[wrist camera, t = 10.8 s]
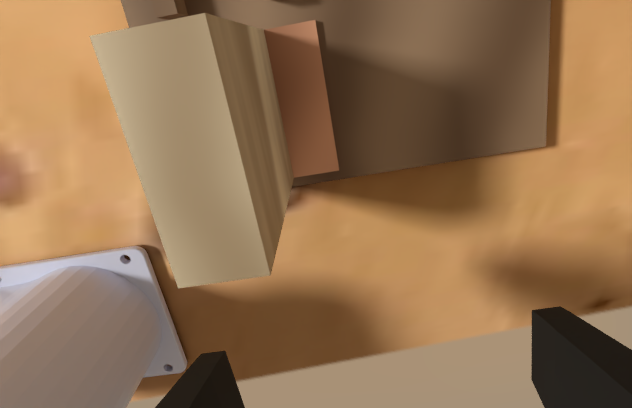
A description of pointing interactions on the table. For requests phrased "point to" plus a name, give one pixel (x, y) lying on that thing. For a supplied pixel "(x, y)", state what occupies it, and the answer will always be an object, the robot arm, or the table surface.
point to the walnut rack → (393, 77)
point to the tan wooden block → (203, 141)
